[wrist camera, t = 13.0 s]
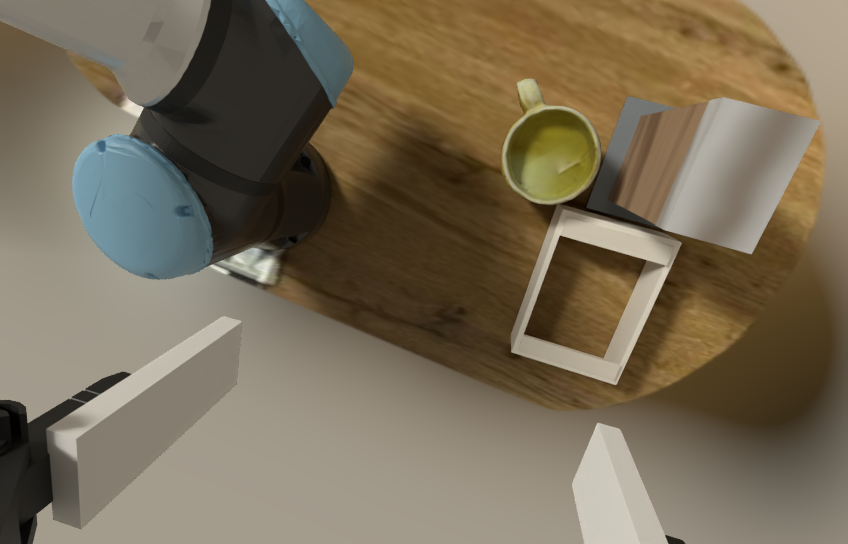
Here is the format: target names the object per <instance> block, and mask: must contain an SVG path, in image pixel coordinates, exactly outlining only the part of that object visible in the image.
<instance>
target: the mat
mask: <svg viewBox="0 0 848 544" xmlns="http://www.w3.org/2000/svg"><path fill="white" fill-rule="evenodd" d="M671 109H676V108H674V107H670V106H666V105H662V104H658V103H654V102H650V101H646V100H642V99H638V98H634V97H630V96H627V99H626V101H625V104H624V107H623V109H622V112H621V115H620V117H619V120H618V123H617V125H616V128H615V131H614V133H613V136H612V138H611V141H610V144H609V146H608V149H607V152H606V154H605V157H604V160H603V162H602V165H601V168H600V170H599V173H598V176H597V178H596V181H595V183H594V186H593V189H592V191H591V194H590V197H589V199H588V202H587V205H586V208H589V209H592V210H596V211H600V212H603V213H607V214H610V215H614V216H618V217H621V218H625V219H628V220H632V221H636V222H639V223H643V224H646V225H650V226H654V227H657V226H656V225H655V224H654V223H652V222H650V221H648V220H646V219H644V218H642V217H640V216H638V215H636V214H634V213H633V212H631V211H629V210H627V209H625V208H623V207H621V206H619V205H617V204H615V203H613V202H612V201H610V200H608V198H609V196H610V193H611V191H612V188H613V186H614V183H615V180H616V178H617V175H618V173H619V170H620V168H621V165H622V163H623V160H624V158H625V155H626V152H627V150H628V147H629V145H630V142H631V140H632V137H633V135H634V132H635V130H636V127H637V124H638V122H639V119H640V117H641V116H643V115H648V114H652V113H657V112H662V111H666V110H671ZM657 228H659V227H657Z"/></svg>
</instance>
